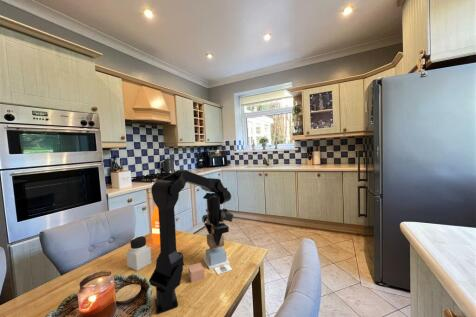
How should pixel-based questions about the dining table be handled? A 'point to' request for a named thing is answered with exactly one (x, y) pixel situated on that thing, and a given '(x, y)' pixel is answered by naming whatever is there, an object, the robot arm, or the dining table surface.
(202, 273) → the terracotta brick
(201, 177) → the robot arm
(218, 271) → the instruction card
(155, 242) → the orange juice
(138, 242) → the medicine bottle
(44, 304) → the dining table surface
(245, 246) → the dining table surface
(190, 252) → the dining table surface
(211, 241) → the walnut brick
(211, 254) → the grey square block
